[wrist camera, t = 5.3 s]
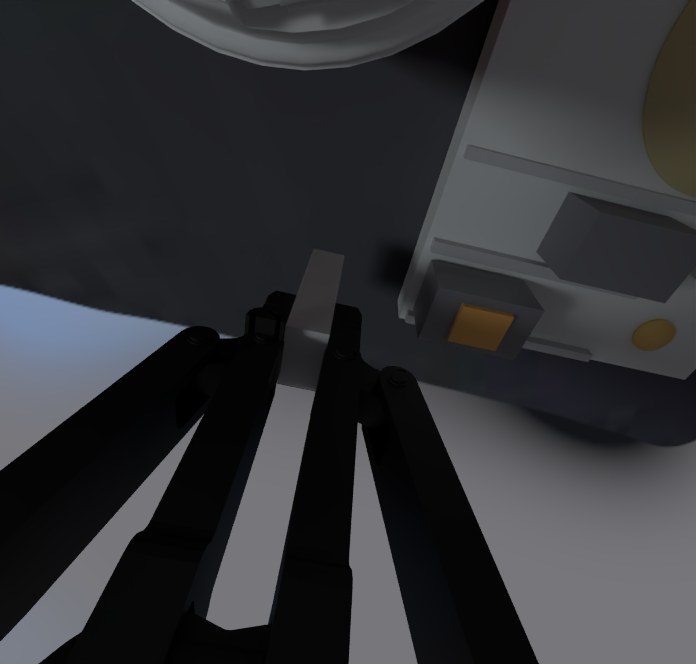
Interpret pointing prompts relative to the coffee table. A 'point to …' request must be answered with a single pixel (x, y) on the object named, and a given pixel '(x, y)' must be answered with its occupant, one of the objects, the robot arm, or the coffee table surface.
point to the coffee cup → (308, 27)
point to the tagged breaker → (475, 310)
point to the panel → (580, 178)
